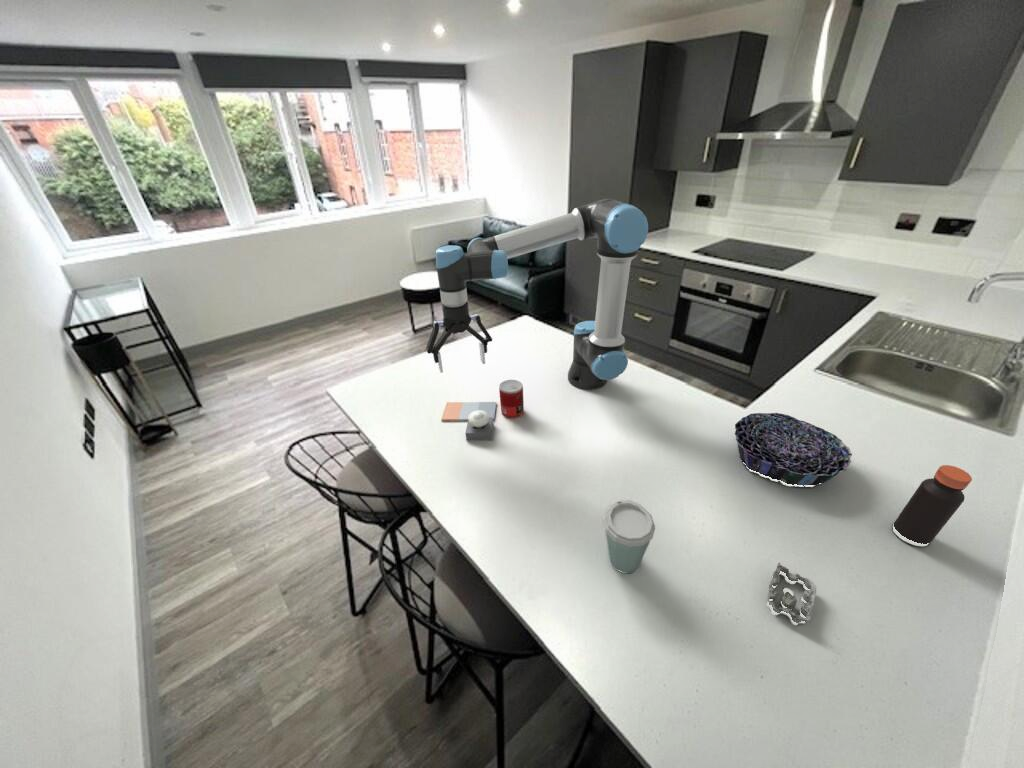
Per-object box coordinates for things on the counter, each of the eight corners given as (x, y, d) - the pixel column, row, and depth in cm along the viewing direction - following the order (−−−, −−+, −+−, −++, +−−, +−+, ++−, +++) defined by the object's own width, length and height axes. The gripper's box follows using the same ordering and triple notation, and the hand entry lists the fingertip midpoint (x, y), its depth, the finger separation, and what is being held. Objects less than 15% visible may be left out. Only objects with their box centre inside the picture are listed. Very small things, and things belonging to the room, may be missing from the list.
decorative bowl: (738, 428, 134) (743, 402, 129) (845, 454, 118) (855, 426, 114) (719, 476, 116) (724, 449, 112) (841, 514, 101) (853, 484, 96)
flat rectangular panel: (496, 403, 148) (496, 401, 148) (494, 420, 140) (493, 419, 139) (446, 404, 149) (446, 402, 149) (441, 421, 141) (441, 419, 140)
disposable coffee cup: (657, 575, 90) (667, 530, 82) (612, 589, 88) (619, 545, 80) (631, 536, 99) (639, 492, 91) (590, 548, 97) (594, 504, 89)
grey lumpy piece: (772, 570, 90) (777, 559, 88) (812, 590, 86) (819, 579, 84) (761, 609, 84) (766, 598, 81) (804, 633, 79) (811, 621, 77)
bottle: (883, 523, 99) (925, 461, 88) (913, 523, 98) (958, 461, 88) (905, 548, 93) (952, 485, 82) (937, 548, 93) (988, 485, 82)
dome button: (490, 420, 136) (489, 407, 133) (488, 433, 131) (487, 419, 128) (471, 420, 136) (469, 407, 134) (468, 433, 131) (466, 419, 128)
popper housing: (493, 424, 138) (492, 417, 136) (491, 440, 131) (490, 432, 130) (469, 424, 138) (468, 417, 137) (466, 440, 132) (465, 433, 130)
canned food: (521, 419, 139) (520, 392, 134) (498, 417, 141) (496, 390, 135) (525, 406, 146) (524, 380, 140) (503, 404, 147) (501, 378, 141)
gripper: (492, 291, 125) (496, 353, 136) (409, 304, 118) (420, 368, 130) (499, 299, 119) (503, 363, 130) (413, 314, 112) (424, 380, 124)
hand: (462, 366), depth 130 cm, fingers open, 13 cm apart
